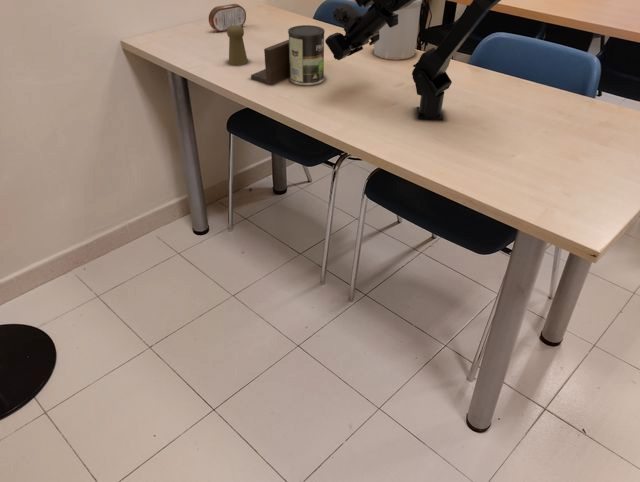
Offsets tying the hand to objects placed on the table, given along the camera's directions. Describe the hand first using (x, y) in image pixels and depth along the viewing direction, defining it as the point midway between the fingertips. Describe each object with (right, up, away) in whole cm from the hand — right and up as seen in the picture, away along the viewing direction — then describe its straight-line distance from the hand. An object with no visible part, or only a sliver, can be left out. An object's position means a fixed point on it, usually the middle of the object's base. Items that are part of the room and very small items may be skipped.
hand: (335, 57), depth 140 cm
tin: (-38, +28, +49) cm, 69 cm away
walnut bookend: (-16, +1, +14) cm, 21 cm away
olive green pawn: (-30, +6, +21) cm, 38 cm away
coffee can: (-8, -3, +10) cm, 13 cm away
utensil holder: (+21, +12, +29) cm, 38 cm away
